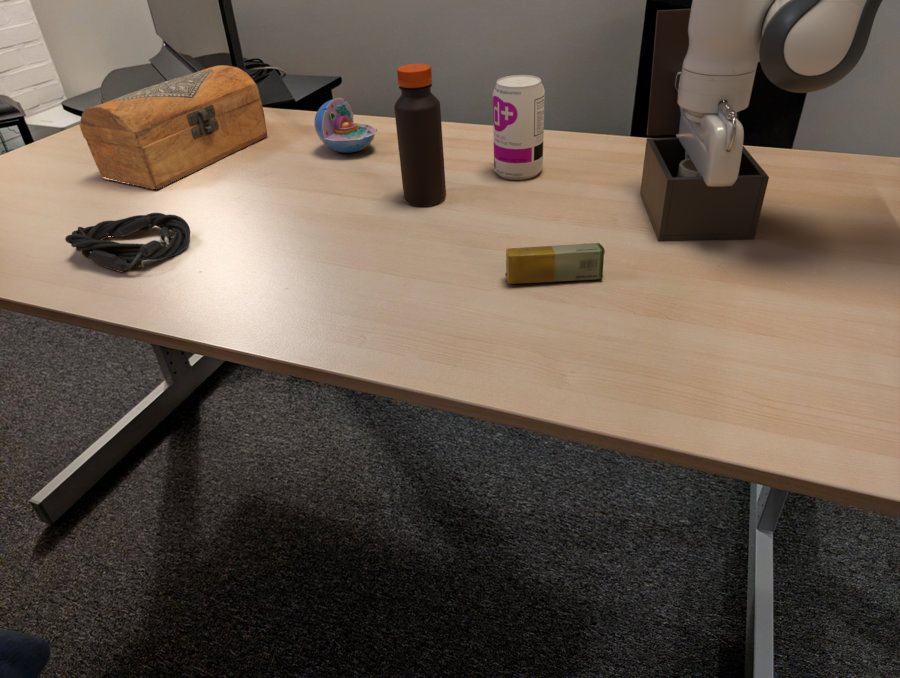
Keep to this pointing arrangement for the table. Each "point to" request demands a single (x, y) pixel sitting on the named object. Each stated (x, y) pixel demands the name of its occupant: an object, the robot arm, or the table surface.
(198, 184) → the table surface
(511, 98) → the supplement can
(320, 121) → the cell model
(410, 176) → the bottle
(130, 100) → the wooden box
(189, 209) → the table surface
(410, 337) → the table surface
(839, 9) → the robot arm
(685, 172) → the creamer cup
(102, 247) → the cable
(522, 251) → the medication box
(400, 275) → the table surface
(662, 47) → the dark brown box lid
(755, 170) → the open topped square crate
